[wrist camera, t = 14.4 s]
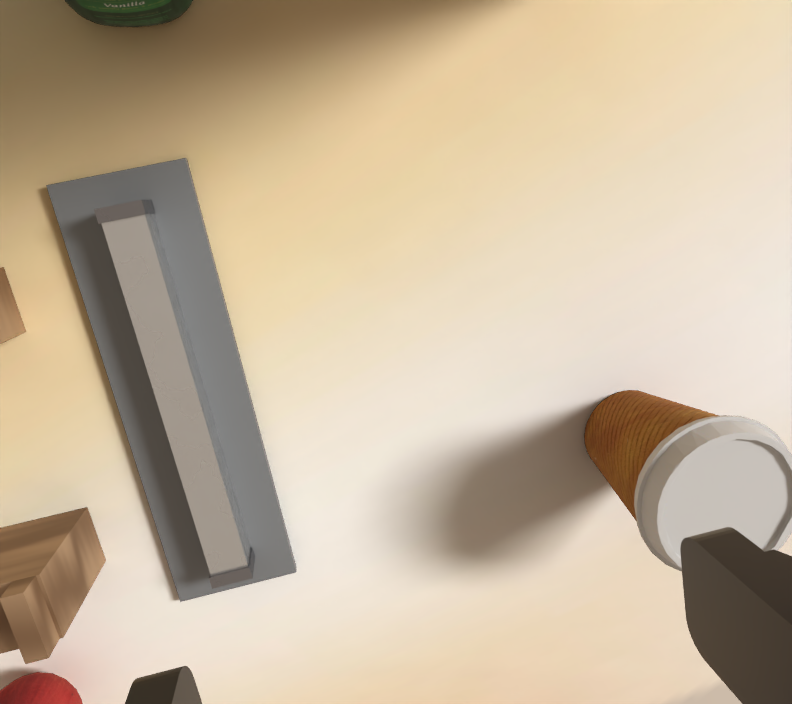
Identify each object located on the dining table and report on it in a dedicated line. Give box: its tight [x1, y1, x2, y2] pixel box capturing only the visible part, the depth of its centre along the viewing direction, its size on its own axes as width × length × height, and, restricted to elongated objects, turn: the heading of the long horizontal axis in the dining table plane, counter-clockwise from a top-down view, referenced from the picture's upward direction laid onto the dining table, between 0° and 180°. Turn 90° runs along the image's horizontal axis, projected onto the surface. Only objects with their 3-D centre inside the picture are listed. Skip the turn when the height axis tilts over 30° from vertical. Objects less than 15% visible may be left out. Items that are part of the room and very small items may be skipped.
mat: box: [46, 158, 296, 602], centre depth 42 cm, size 28×8×1 cm, turn 11°
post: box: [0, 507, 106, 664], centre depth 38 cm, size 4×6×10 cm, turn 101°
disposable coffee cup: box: [584, 390, 792, 571], centre depth 41 cm, size 10×10×12 cm
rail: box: [94, 200, 255, 589], centre depth 40 cm, size 24×3×3 cm, turn 12°
